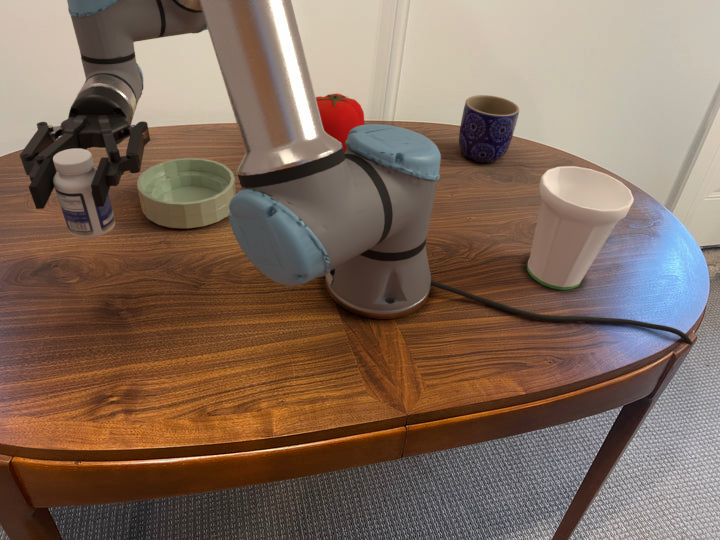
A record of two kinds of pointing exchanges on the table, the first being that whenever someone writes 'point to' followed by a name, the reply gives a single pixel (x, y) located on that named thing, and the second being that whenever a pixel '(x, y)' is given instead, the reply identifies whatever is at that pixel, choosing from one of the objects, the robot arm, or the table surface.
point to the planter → (487, 127)
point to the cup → (574, 223)
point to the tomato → (339, 116)
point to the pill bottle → (80, 195)
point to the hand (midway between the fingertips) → (67, 196)
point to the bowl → (186, 192)
